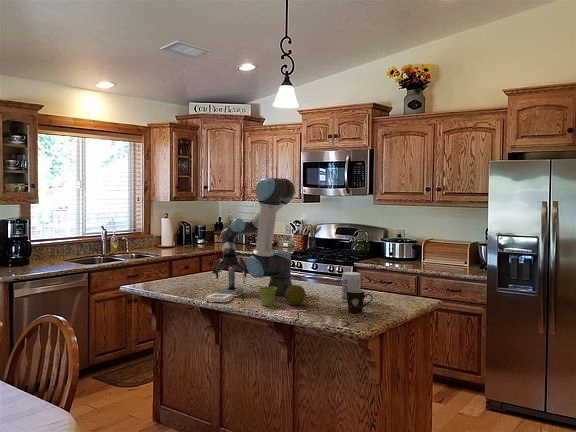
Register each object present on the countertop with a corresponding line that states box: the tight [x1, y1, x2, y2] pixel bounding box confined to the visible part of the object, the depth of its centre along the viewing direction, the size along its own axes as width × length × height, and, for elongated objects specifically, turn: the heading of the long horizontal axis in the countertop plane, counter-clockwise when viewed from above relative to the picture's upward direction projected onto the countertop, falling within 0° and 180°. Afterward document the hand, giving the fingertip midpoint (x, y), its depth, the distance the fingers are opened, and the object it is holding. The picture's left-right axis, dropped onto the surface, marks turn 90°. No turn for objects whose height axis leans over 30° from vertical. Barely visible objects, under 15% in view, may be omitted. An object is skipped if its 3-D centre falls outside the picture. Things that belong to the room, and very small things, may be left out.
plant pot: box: [257, 286, 277, 307], centre depth 261 cm, size 9×9×9 cm
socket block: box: [218, 286, 245, 295], centre depth 287 cm, size 10×10×4 cm
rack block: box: [204, 292, 234, 302], centre depth 272 cm, size 11×11×2 cm
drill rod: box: [227, 266, 236, 290], centre depth 287 cm, size 3×3×15 cm
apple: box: [284, 284, 306, 306], centre depth 261 cm, size 10×10×11 cm
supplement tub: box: [341, 271, 362, 303], centre depth 270 cm, size 10×10×15 cm
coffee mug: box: [346, 289, 373, 315], centre depth 244 cm, size 12×9×10 cm
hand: (231, 282), depth 285 cm, fingers open, 13 cm apart
